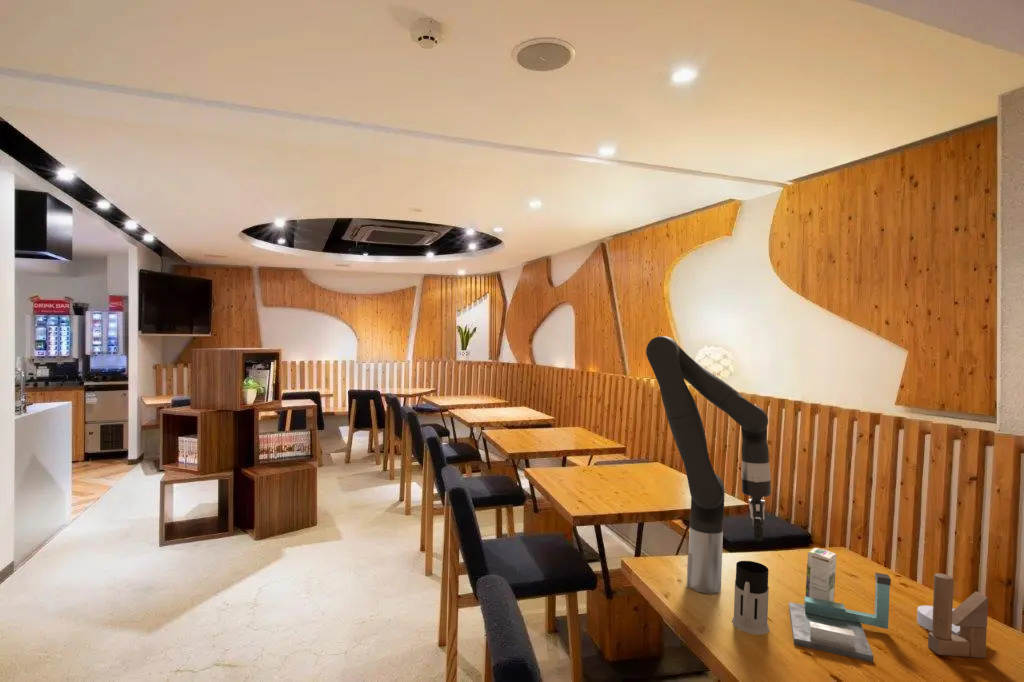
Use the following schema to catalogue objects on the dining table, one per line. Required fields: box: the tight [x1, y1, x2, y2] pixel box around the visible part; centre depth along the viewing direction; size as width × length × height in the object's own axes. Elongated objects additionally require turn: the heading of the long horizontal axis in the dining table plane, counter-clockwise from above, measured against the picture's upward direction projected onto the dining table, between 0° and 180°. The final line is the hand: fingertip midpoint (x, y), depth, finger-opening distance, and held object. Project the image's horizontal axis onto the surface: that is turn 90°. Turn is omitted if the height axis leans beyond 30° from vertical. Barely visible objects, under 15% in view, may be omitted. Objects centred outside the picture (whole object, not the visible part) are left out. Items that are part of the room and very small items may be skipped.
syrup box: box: [805, 547, 837, 602], centre depth 150 cm, size 6×6×14 cm
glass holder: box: [731, 560, 770, 636], centre depth 135 cm, size 9×14×15 cm, turn 148°
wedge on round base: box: [916, 605, 960, 637], centre depth 138 cm, size 9×7×13 cm
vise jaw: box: [803, 572, 892, 630], centre depth 139 cm, size 18×3×13 cm, turn 66°
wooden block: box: [927, 573, 989, 659], centre depth 128 cm, size 4×11×18 cm, turn 87°
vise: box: [788, 601, 874, 663], centre depth 135 cm, size 16×20×4 cm
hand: (757, 535), depth 153 cm, fingers open, 8 cm apart
